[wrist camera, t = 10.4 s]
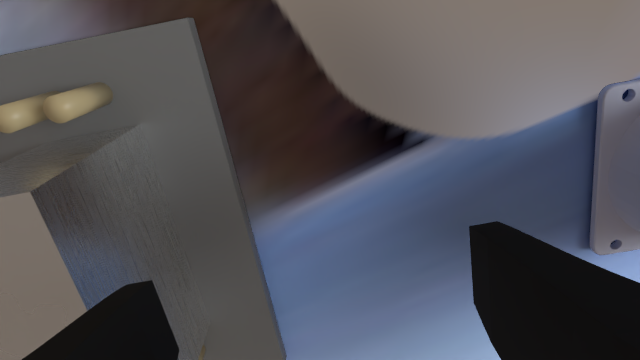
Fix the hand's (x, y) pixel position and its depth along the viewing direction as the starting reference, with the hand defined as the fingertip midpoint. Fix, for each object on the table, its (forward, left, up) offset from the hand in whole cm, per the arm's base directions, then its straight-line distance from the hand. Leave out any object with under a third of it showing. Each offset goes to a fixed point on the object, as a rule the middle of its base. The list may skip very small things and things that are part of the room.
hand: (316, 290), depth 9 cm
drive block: (+9, +2, -9) cm, 12 cm away
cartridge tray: (+9, +2, -9) cm, 13 cm away
